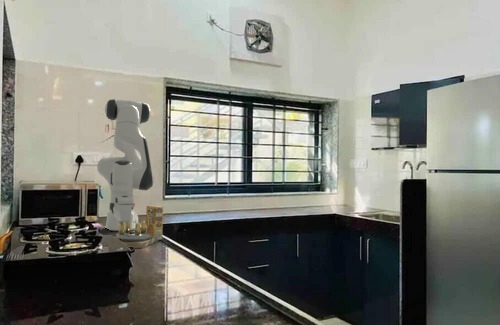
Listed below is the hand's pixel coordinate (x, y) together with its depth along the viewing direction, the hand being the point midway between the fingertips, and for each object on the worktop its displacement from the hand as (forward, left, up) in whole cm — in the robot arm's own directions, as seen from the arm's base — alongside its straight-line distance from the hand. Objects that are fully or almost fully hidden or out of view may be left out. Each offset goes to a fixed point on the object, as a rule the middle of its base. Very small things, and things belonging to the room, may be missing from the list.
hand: (121, 229), depth 168 cm
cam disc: (-1, +5, -4) cm, 6 cm away
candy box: (-16, +9, -6) cm, 19 cm away
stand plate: (-2, +4, -6) cm, 8 cm away
